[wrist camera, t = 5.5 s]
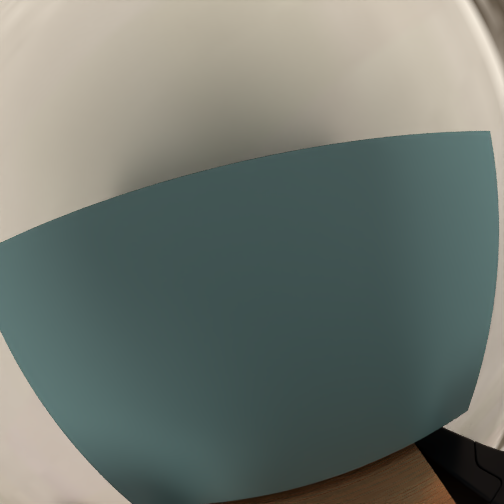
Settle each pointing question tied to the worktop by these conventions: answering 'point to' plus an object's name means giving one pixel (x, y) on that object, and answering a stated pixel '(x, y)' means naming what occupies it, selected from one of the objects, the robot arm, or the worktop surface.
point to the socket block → (262, 315)
